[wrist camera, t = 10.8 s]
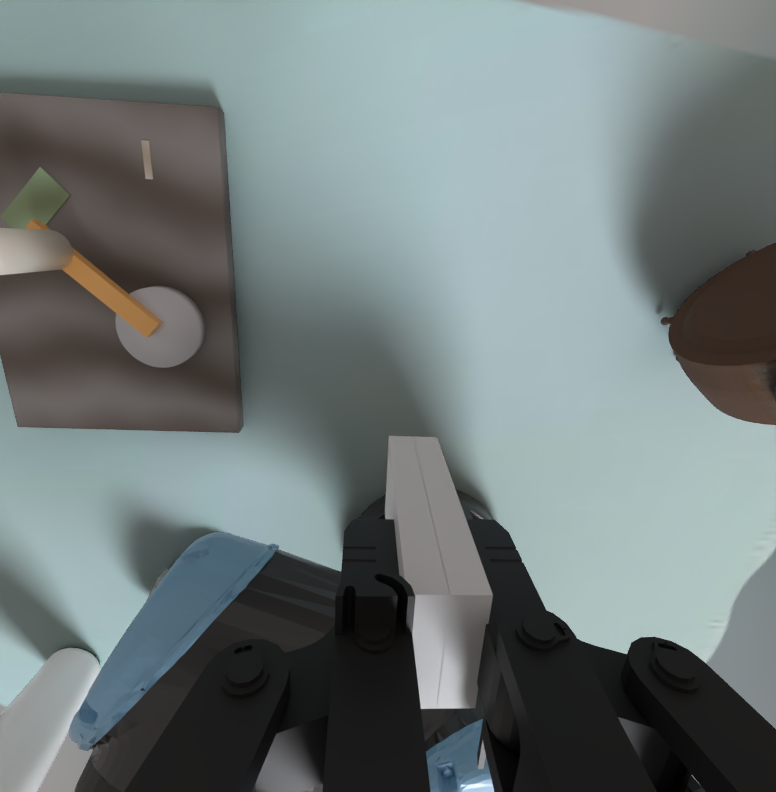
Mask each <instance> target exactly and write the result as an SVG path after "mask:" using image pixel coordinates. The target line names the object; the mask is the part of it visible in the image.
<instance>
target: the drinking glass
mask: <svg viewBox="0 0 776 792" xmlns="http://www.w3.org/2000/svg"><path fill="white" fill-rule="evenodd" d="M99 672H100V664H99V662H98V660H97V659H96V658H95V656H93V655H92V654H91V653H89V652H88V651H85V650H83V649H79V648H65V649H61V650H59V651H57V652H55V653H54V654H52V655H51V656H50V657H49V658H48V659H47V661H46V662H45V663H44V665H43V666H42V667H41V669H40V670H39V671H38V672H37V674H36V675H35V676H34V677H33V678H32V679H31V680H30V682H29V683H28V684H27V685H26V686H25V687H24V688H23V690H22V691H21V692H20V693H19V694H18V695H17V696H16V698H15V699H14V700H13V701H12V702H11V703H10V704H9V705H8V707H7V708H6V709H5V710H4V711H3V712H2V713H1V715H0V792H38V791H39V789H40V787H41V785H42V783H43V781H44V779H45V777H46V776H47V774H48V772H49V770H50V768H51V765H52V764H53V762H54V760H55V758H56V756H57V754H58V752H59V750H60V748H61V746H62V744H63V742H64V740H65V738H66V736H67V734H68V733H69V728H70V724H71V722H72V720H73V718H74V716H75V714H76V713H77V712H78V710H79V709H80V707H81V705H82V703H83V702H84V700H85V698H86V696H87V694H88V691H89V689H90V688H91V686H92V684H93V682H94V681H95V679H96V677H97V676H98V674H99Z"/></svg>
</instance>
